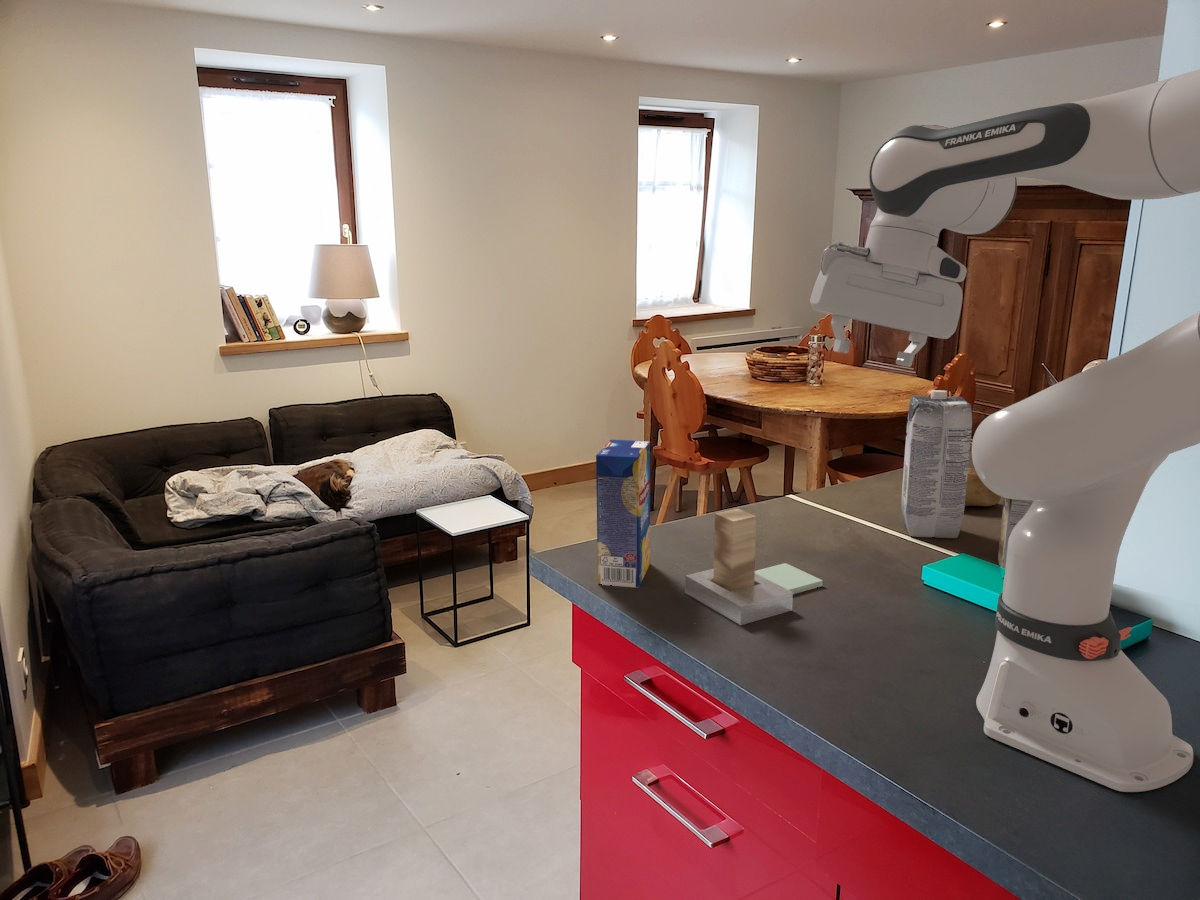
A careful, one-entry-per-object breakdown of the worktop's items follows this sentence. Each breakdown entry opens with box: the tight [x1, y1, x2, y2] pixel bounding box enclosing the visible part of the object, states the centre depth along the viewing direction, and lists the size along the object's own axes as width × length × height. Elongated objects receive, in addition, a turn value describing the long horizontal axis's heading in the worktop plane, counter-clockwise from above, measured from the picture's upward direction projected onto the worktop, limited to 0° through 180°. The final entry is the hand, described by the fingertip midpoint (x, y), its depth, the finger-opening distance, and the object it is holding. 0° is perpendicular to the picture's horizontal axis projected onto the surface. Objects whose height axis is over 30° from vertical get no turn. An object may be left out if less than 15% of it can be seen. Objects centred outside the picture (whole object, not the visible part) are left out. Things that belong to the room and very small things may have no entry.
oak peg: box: [713, 508, 757, 592], centre depth 139 cm, size 4×4×14 cm
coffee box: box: [997, 497, 1034, 568], centre depth 148 cm, size 9×6×16 cm
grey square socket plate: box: [684, 568, 794, 626], centre depth 139 cm, size 14×10×3 cm
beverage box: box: [595, 439, 651, 588], centre depth 148 cm, size 7×11×22 cm, turn 167°
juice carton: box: [900, 389, 973, 539], centre depth 166 cm, size 9×10×27 cm
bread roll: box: [965, 467, 1002, 507], centre depth 184 cm, size 10×15×8 cm, turn 79°
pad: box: [755, 562, 824, 595], centre depth 146 cm, size 9×9×1 cm
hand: (871, 359), depth 119 cm, fingers open, 8 cm apart
